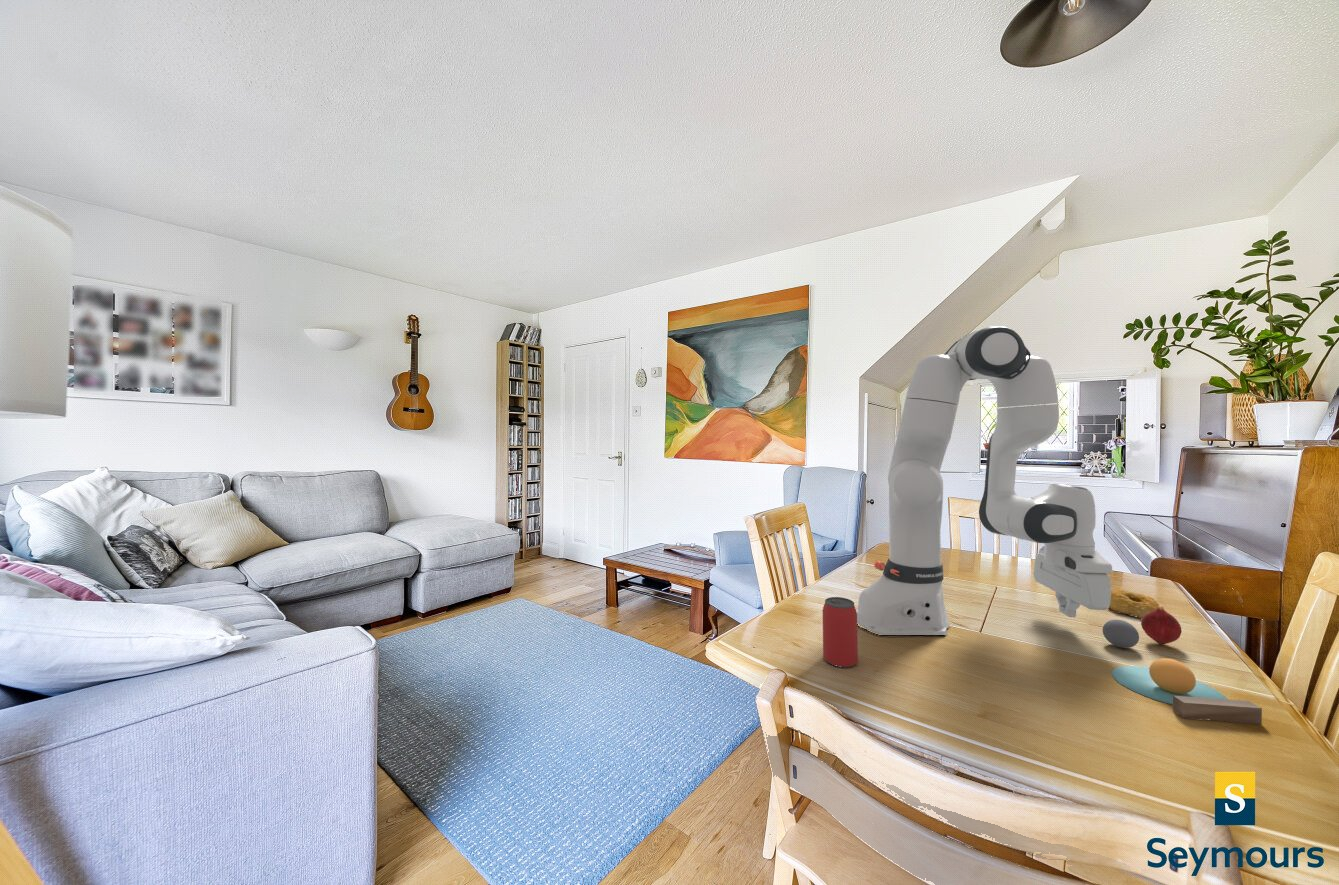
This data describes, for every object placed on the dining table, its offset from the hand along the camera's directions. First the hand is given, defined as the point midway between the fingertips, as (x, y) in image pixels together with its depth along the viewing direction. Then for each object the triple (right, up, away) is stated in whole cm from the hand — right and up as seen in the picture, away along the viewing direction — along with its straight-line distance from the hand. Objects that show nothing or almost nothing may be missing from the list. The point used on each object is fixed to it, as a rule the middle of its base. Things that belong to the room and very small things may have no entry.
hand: (1067, 614), depth 108 cm
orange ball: (-5, -1, -27) cm, 27 cm away
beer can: (-57, -5, -14) cm, 59 cm away
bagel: (+23, -3, +8) cm, 25 cm away
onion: (+12, -3, -9) cm, 15 cm away
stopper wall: (-6, -4, -34) cm, 35 cm away
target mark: (-4, -3, -25) cm, 26 cm away
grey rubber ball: (+2, 0, -10) cm, 10 cm away
